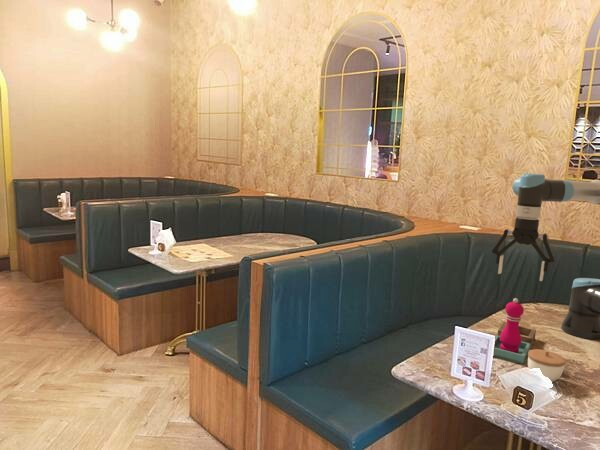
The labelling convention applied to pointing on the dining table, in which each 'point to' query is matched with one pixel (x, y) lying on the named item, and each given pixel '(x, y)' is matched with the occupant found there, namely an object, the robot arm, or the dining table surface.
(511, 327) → the pepper mill
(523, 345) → the teal tray
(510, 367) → the dining table surface
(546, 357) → the lidded jar
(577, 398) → the dining table surface
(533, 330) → the walnut holder
